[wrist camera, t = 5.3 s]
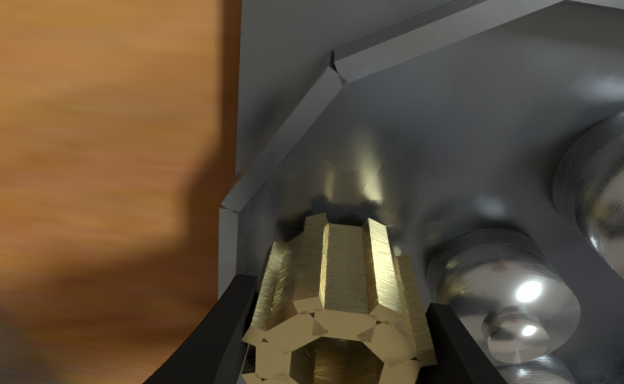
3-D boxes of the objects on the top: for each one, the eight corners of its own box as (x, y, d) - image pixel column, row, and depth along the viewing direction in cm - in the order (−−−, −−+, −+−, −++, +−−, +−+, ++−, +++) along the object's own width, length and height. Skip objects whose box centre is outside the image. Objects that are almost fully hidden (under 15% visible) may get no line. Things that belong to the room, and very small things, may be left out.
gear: (425, 224, 12) (458, 313, 9) (394, 332, 15) (409, 434, 12) (268, 206, 13) (240, 287, 9) (264, 317, 15) (241, 413, 12)
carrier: (935, 41, 11) (1323, 80, 6) (581, 414, 21) (642, 523, 16) (254, -73, 10) (197, -110, 6) (232, 364, 20) (205, 462, 16)
